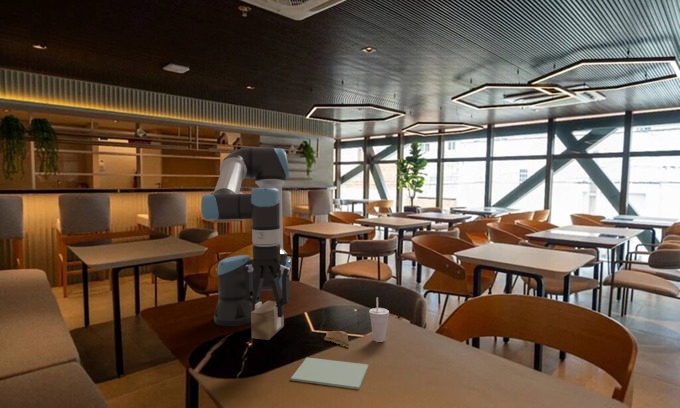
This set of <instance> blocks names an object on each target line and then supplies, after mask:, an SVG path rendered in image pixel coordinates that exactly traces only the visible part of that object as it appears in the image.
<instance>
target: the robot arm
mask: <svg viewBox="0 0 680 408" xmlns="http://www.w3.org/2000/svg"><path fill="white" fill-rule="evenodd" d="M219 172H220V174H219V177H218V180H217V182H216V185H215V188H214V191H213V193H209V194H204V195H202V197H201V200H200V201H201V203H200V204H201V205H200V208H201V209H200V211H201V217H202V218H203V219H204V220H206V221H209V220H210V221H226V220H227V221H229V220H251V226H252V227H251V233H252V236H251V239H252V240H251V241H252V244H253V245H252V247H251V248H252V258H253V259H251V257H250V255H248V254H241V255H234V256H231V257H226V258H223V259H222V260H220V261H219V262H218V265H217V289H218V291H217V292H218V294H217V295H218V301H217V304H216V308H215V311H214V315H213V322H214V323H215V325H217V326H220V327H239V326H245V325H247V324H251V312H252V311H254V310H255V309H257V308H258V307H259V306H261V305H262V304H263V302H262V301H260V300H261V293H262V291H272V292H273V295H274V301H276V305H275V306H274V330H277V329H279V328H280V327H281V317H282V316H283V314H284V315H285V313H284V312H285V311H284V308H285V306H284V305H287V304H288V303H289V302H290V301H291V285H290V283H291V282H290V281H291V280H290V276H291V272H292V267H291V265H292V258H291V257H288V252H286V250H284V232H283V229H284V228H283V225H284V222H283V186H284V185H285V184H286V182H287V181H286V179H289V178H290V169H289V162H288V157H287V153H286V149H283V148H280V147H276V148H275V147H245V148H243V147H242V148H240V149H237V150H234V151H232V152H231V153H228V155H227V156H225V157H224V158H223V159H222V161H221V164H220V166H219ZM244 179H254V181H255V185H256V186H258V187H254V188H252V190H251V193H240V191H241V188H242V182H243V180H244Z"/></svg>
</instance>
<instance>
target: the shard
mask: <svg viewBox="0 0 680 408" xmlns="http://www.w3.org/2000/svg"><path fill="white" fill-rule="evenodd" d="M323 339H324V341H326V342H330V341H331V343H333V342H334V344H335V343H336V345H338V344H340V345H339V346H341V345H345V346H349V347H350V342H349V336H348V334H347V332H346V331H341V330H333V331H332V330H331V331H328V330H327V331H326V335H325V336H324V337H323Z"/></svg>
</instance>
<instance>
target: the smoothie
mask: <svg viewBox="0 0 680 408" xmlns="http://www.w3.org/2000/svg"><path fill="white" fill-rule="evenodd" d="M375 298H376V299H375V300H376V304H375V305H376V307H375V308H374V307H373V308H371V309H369V311H368V315H369V318H370V323H371V324H370V325H371V334H372V341H373V340H374V341H376V342H383V341H385V342H386V336H387V328H388V327H387V326H388V317H389V315H390V311H389V310H388V309H387V308H383V307H379V297H375ZM374 341H373V342H374ZM376 342H375V343H376ZM383 343H384V342H383Z"/></svg>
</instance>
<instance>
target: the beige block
mask: <svg viewBox="0 0 680 408" xmlns="http://www.w3.org/2000/svg"><path fill="white" fill-rule="evenodd" d="M275 305H276V300H267V301H265V302H264V303H262V305H261V306H259V307H258V308H257V309H255V310H254V311H252V312H251V322H250V327H251V328H250V329H251V330H250V331H251V339H257V340H258V339H259V340H266V341H269V340H271V338H273V337H274V336H275V335H276V334H277V333H278V332H279V331H280V330H282V329H283V327H284V326H285V318H284V317H285V313H284V314H283V316H282V317H281V327H280V328H279V329H277V330H274V306H275Z"/></svg>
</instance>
